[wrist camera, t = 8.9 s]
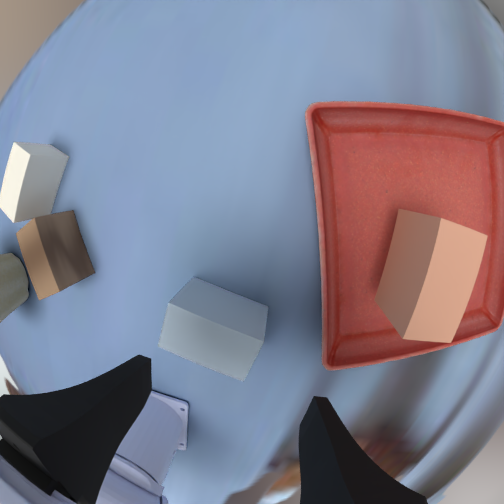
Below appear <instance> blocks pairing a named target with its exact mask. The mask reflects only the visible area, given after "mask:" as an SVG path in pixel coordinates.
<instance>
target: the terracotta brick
mask: <svg viewBox="0 0 504 504" xmlns="http://www.w3.org/2000/svg"><path fill="white" fill-rule="evenodd" d="M487 237H488V236H487V235H485V234H482V233H480V232H477V231H475V230H472V229H470V228H467V227H465V226H462V225H459V224H456V223H454V222H451V221H448V220H445V219H443V218H439V217H435V216H430V215H426V214H422V213H417V212H412V211H408V210H403V209H399V210H398V215H397V219H396V224H395V228H394V232H393V237H392V241H391V245H390V249H389V252H388V256H387V260H386V263H385V267H384V270H383V274H382V277H381V280H380V284H379V287H378V290H377V293H376V296H375V299H374V301H375V302H376V303H377V305H378V306H379V307H380V309H381V310H382V311H383V313H384V314H385V315H386V317H387V318H388V319H389V321H390V322H391V324H392V325H393V326H394V328H395V329H396V330H397V332H398V333H399V335H400V336H401V337H402V339H407V340H418V341H430V342H444V343H451V342H452V340H453V337H454V335H455V333H456V331H457V329H458V326H459V324H460V322H461V319H462V317H463V314H464V312H465V309H466V307H467V304H468V301H469V298H470V296H471V293H472V290H473V287H474V284H475V281H476V278H477V275H478V271H479V268H480V264H481V261H482V257H483V253H484V249H485V245H486V241H487Z"/></svg>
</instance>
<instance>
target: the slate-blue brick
mask: <svg viewBox="0 0 504 504" xmlns="http://www.w3.org/2000/svg"><path fill="white" fill-rule="evenodd" d="M267 315H268V306H266V305H263V304H261V303H258V302H256V301H253V300H250V299H248V298H245V297H243V296H240V295H238V294H235V293H233V292H230V291H228V290H225V289H223V288H220V287H218V286H215V285H213V284H211V283H208V282H206V281H203V280H201V279H199V278H196V277H193V278H192V279H191V280H190V281H189V282H188V283H187V284H186V285H185V286H184V287H183V288H182V289H181V290H180V291H179V292H178V293H177V294H176V295H175V296H174V297H173V298H172V299H171V300H170V302H169V303H168V307H167V310H166V314H165V318H164V322H163V326H162V330H161V334H160V338H159V343H158V347H160V348H162V349H165V350H167V351H169V352H171V353H173V354H175V355H178V356H180V357H182V358H184V359H187V360H189V361H191V362H194V363H196V364H199V365H201V366H203V367H206V368H208V369H211V370H214V371H216V372H219V373H221V374H224V375H227V376H229V377H232V378H235V379H238V380H240V381H243V382H244V380H245V378H246V376H247V374H248V372H249V370H250V368H251V367H252V365H253V363H254V361H255V359H256V357H257V355H258V353H259V351H260V349H261V347H262V345H263V343H264V339H265V331H266V323H267Z"/></svg>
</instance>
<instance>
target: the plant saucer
mask: <svg viewBox="0 0 504 504" xmlns="http://www.w3.org/2000/svg"><path fill="white" fill-rule="evenodd" d="M305 120H306V127H307V134H308V141H309V148H310V155H311V164H312V172H313V181H314V190H315V199H316V211H317V222H318V234H319V251H320V273H321V296H322V365H323V366H324V368H325V369H327V370H341V369H347V368H355V367H362V366H368V365H373V364H379V363H385V362H389V361H394V360H399V359H404V358H408V357H412V356H416V355H421V354H425V353H428V352H432V351H437V350H440V349H444V348H447V347H450V346H453V345H457V344H460V343H463V342H467V341H469V340H472V339H475V338H478V337H481V336H484V335H487V334H489V333H492V332H495V331H496V330H497V329H498V328H499V327H500V326H501V324H502V321H503V318H504V122H501V121H497V120H494V119H490V118H487V117H482V116H478V115H474V114H469V113H465V112H460V111H455V110H450V109H441V108H436V107H428V106H419V105H412V104H398V103H386V102H355V101H351V102H348V101H331V102H316V103H312V104H311V105H309V106H308V108H307V110H306V111H305ZM399 209H403V210H408V211H412V212H417V213H422V214H426V215H430V216H435V217H439V218H443V219H445V220H448V221H451V222H454V223H456V224H459V225H462V226H465V227H467V228H470V229H472V230H475V231H477V232H480V233H482V234H485V235H487V236H488V237H487V241H486V245H485V249H484V253H483V257H482V261H481V264H480V268H479V271H478V275H477V278H476V281H475V284H474V287H473V290H472V293H471V296H470V298H469V301H468V304H467V307H466V309H465V312H464V314H463V317H462V319H461V322H460V324H459V326H458V329H457V331H456V333H455V335H454V337H453V340H452V342H451V343H444V342H430V341H418V340H407V339H402V337H401V336H400V335H399V333H398V332H397V330H396V329H395V328H394V326H393V325H392V324H391V322H390V321H389V319H388V318H387V317H386V315H385V314H384V313H383V311H382V310H381V309H380V307H379V306H378V305H377V303H376V302H375V301H374V299H375V296H376V293H377V290H378V287H379V284H380V280H381V277H382V274H383V270H384V267H385V263H386V260H387V256H388V252H389V249H390V245H391V241H392V237H393V232H394V228H395V224H396V219H397V215H398V210H399Z"/></svg>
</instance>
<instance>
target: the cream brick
mask: <svg viewBox="0 0 504 504" xmlns="http://www.w3.org/2000/svg"><path fill="white" fill-rule="evenodd" d="M68 159H69V156H67V155H66V154H64V153H63V152H61V151H60V150H58V149H56V148H55V147H53V146H52V145H49V144H38V143H24V142H14V143H13V146H12V150H11V153H10V156H9V160H8V164H7V167H6V171H5V175H4V180H3V184H2V189H1V194H0V208H1V209H2V210H3V211H4V213H5V214H6V215H7V216H8V217H9V218H10V219H11V220H12V222H13V223H16V222H21V221H25V220H30V219H33V218H35V217H39V216H44V215H50V214H51V212H52V208H53V204H54V201H55V198H56V194H57V191H58V188H59V185H60V182H61V179H62V176H63V173H64V170H65V167H66V164H67V162H68Z"/></svg>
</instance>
